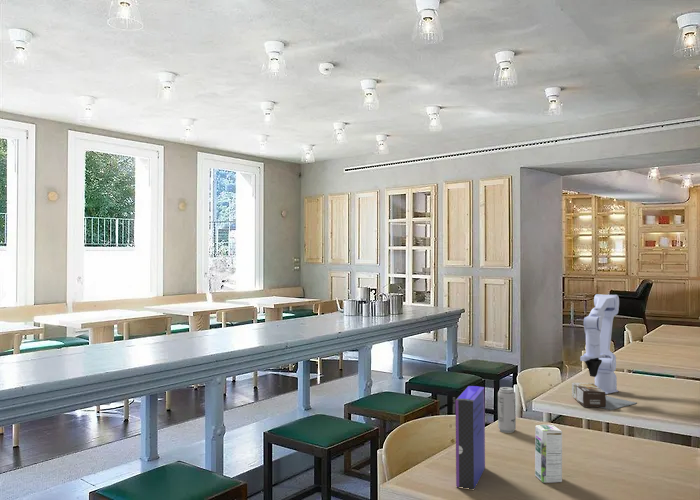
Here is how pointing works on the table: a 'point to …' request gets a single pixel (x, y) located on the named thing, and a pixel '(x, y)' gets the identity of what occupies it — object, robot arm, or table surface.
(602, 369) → the robot arm
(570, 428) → the table surface
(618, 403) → the mat
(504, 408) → the energy drink can
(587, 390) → the coffee box
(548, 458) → the syrup box
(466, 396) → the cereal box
